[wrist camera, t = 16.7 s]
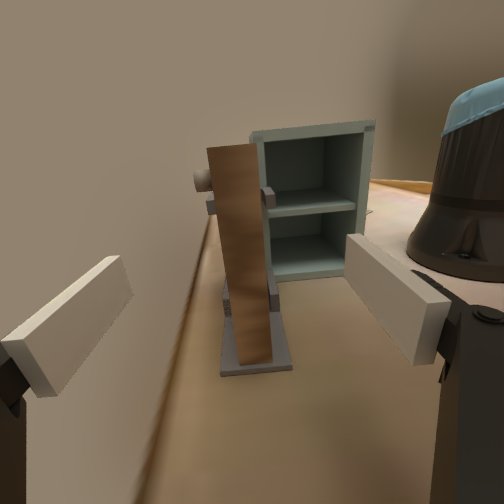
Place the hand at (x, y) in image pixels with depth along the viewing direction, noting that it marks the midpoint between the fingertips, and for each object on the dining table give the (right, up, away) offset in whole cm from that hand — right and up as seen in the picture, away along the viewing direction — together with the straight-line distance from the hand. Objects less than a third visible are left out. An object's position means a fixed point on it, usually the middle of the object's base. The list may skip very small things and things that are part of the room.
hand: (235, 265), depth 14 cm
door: (+1, -7, +13) cm, 15 cm away
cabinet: (+7, -3, +21) cm, 23 cm away
